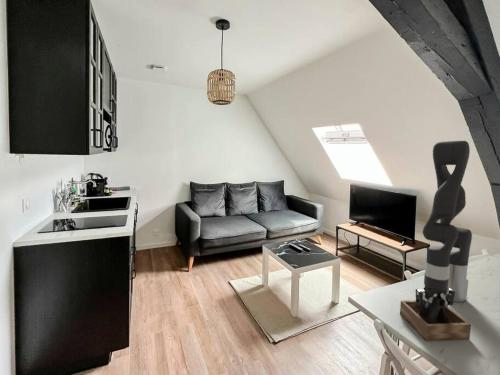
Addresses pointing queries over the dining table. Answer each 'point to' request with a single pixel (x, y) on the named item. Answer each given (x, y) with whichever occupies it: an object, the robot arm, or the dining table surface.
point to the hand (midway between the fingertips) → (433, 314)
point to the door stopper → (436, 312)
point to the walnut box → (435, 332)
